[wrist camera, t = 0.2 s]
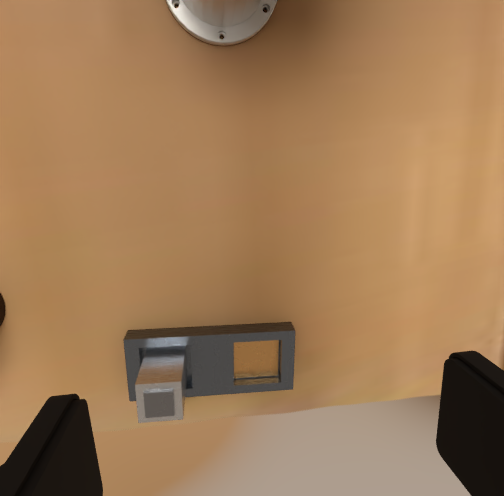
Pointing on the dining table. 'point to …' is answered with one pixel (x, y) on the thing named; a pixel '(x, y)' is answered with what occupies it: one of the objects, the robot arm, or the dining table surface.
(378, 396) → the dining table surface
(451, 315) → the dining table surface
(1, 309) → the olive oil
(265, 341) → the rail
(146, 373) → the block
